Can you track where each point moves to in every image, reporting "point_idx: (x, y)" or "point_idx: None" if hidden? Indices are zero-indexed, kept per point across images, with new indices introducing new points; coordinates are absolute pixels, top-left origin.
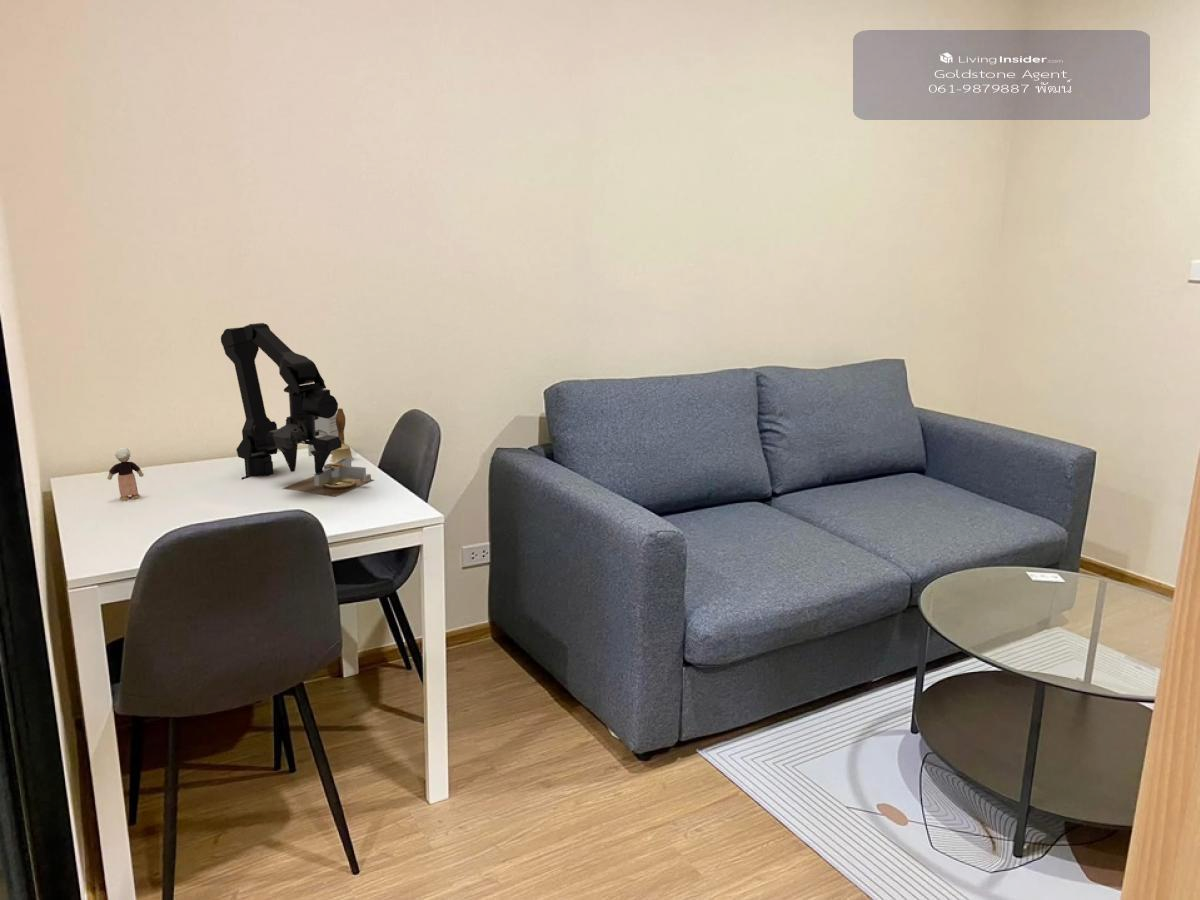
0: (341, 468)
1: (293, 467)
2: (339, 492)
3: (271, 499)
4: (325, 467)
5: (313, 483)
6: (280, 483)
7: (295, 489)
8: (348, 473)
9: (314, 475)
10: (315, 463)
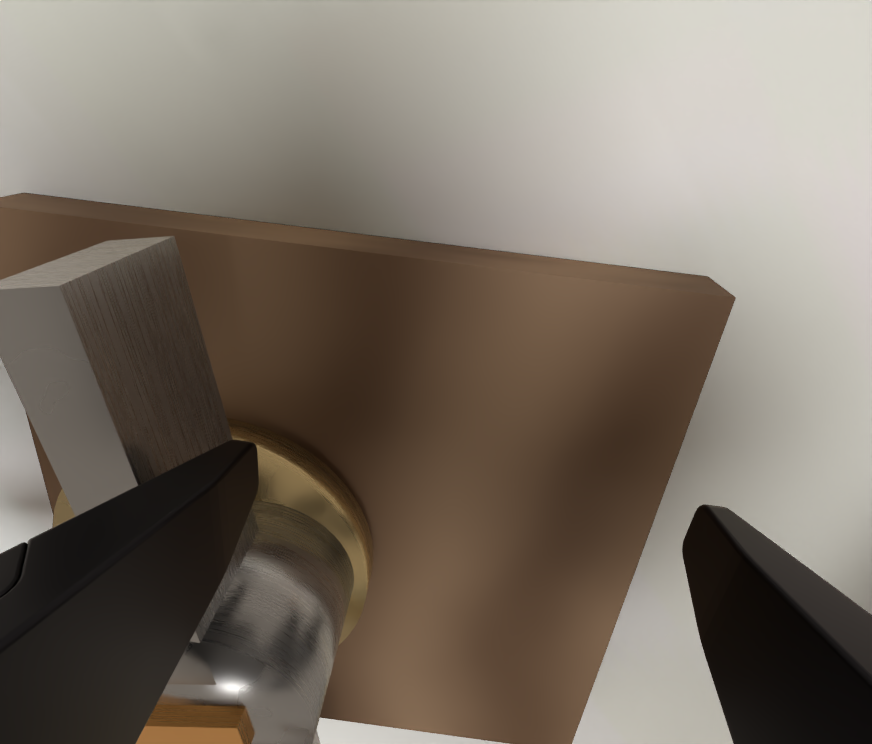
0: None
1: (710, 576)
2: None
3: (756, 46)
4: (230, 649)
5: (485, 520)
6: (863, 542)
7: (554, 304)
8: None
9: (64, 282)
10: (74, 559)
